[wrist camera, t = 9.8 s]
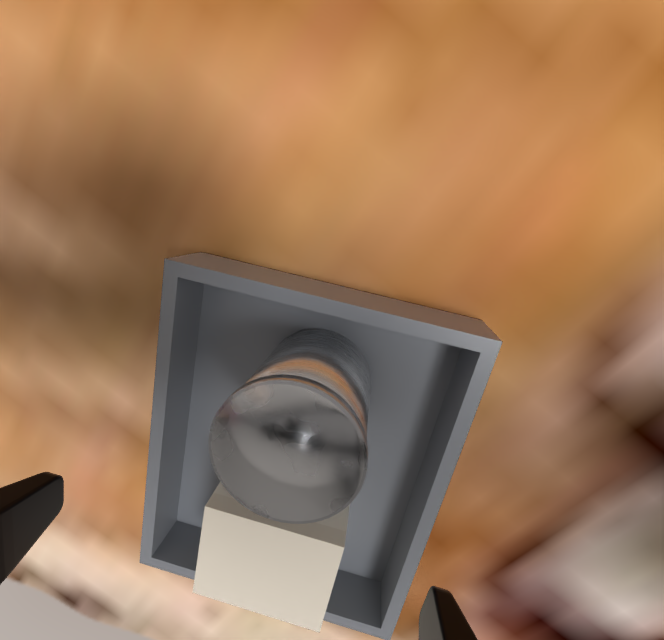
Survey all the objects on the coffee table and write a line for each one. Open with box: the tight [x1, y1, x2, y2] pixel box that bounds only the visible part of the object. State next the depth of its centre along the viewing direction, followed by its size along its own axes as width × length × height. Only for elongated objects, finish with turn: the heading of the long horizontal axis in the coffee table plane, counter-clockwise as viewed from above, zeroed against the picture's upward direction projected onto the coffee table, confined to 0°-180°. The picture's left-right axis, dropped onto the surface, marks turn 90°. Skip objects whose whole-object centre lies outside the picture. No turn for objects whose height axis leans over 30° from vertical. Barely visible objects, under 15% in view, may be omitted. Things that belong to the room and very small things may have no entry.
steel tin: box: [208, 328, 371, 524], centre depth 15 cm, size 5×5×6 cm
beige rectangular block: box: [193, 482, 350, 633], centre depth 18 cm, size 6×5×4 cm
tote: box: [140, 252, 502, 640], centre depth 18 cm, size 13×16×3 cm
